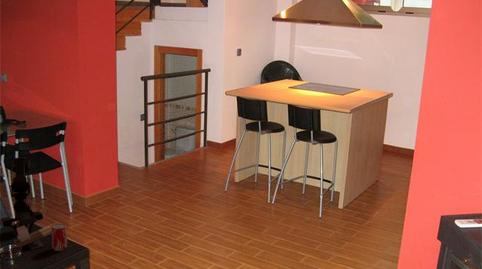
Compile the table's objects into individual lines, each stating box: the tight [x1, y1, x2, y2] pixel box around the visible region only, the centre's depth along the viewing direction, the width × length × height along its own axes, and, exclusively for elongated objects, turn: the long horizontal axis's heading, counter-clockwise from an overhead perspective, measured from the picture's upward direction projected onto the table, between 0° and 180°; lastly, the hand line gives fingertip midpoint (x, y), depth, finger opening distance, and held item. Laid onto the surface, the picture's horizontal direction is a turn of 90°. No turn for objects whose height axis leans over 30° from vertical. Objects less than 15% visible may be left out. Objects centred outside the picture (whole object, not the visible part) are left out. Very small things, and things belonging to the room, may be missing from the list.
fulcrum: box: [26, 239, 45, 250], centre depth 259 cm, size 8×6×4 cm
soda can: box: [51, 223, 68, 252], centre depth 255 cm, size 7×7×12 cm
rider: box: [16, 226, 30, 243], centre depth 254 cm, size 4×4×6 cm
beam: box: [13, 225, 53, 248], centre depth 258 cm, size 6×18×2 cm, turn 129°
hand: (22, 235), depth 255 cm, fingers open, 5 cm apart
